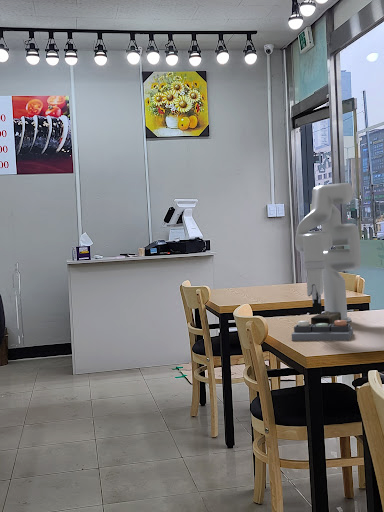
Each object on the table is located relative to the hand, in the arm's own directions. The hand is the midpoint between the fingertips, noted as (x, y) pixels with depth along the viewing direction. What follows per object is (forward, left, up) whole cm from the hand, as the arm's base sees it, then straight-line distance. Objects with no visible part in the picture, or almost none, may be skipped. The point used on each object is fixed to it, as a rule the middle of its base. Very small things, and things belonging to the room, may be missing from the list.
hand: (317, 313), depth 242 cm
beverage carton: (-19, 0, -10) cm, 21 cm away
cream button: (0, -6, -5) cm, 7 cm away
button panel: (0, +1, -9) cm, 9 cm away
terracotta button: (0, +8, -5) cm, 10 cm away
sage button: (0, +1, -6) cm, 6 cm away
